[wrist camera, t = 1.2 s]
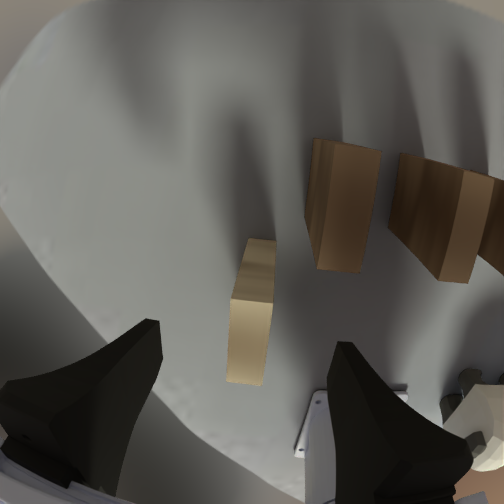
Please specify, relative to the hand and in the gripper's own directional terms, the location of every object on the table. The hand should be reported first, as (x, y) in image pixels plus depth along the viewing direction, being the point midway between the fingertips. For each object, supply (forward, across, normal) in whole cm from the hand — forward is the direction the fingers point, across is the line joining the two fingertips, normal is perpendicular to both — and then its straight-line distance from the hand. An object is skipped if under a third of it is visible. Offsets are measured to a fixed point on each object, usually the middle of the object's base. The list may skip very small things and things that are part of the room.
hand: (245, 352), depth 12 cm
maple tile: (+7, 0, 0) cm, 7 cm away
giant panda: (+8, -23, +10) cm, 26 cm away
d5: (+8, -3, -6) cm, 10 cm away
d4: (+7, -8, -6) cm, 12 cm away
